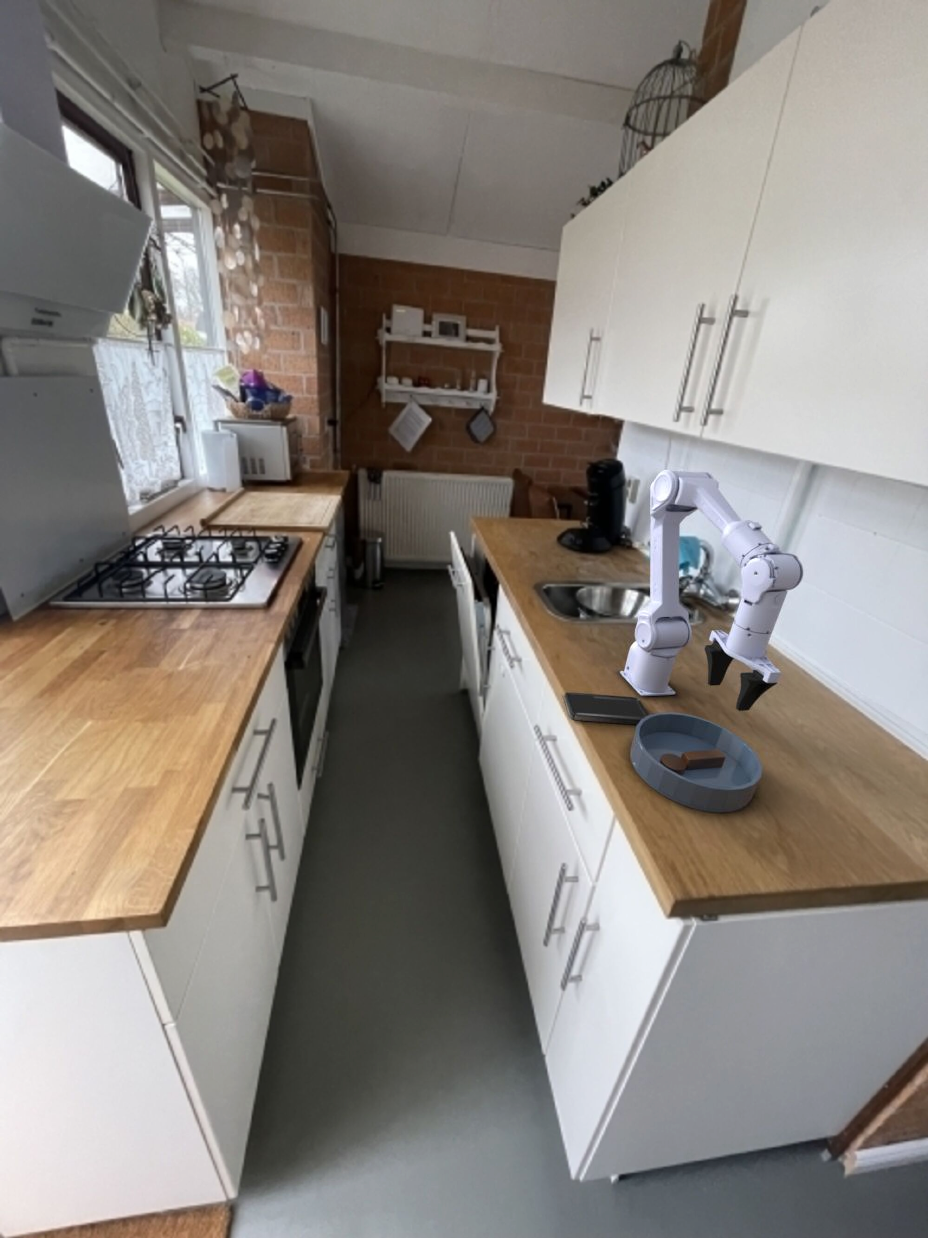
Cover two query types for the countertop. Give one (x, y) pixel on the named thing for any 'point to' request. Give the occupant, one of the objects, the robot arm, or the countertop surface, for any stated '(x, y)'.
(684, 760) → the brown elongated piece
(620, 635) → the countertop surface
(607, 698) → the phone
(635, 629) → the robot arm
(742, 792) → the shallow round tray
